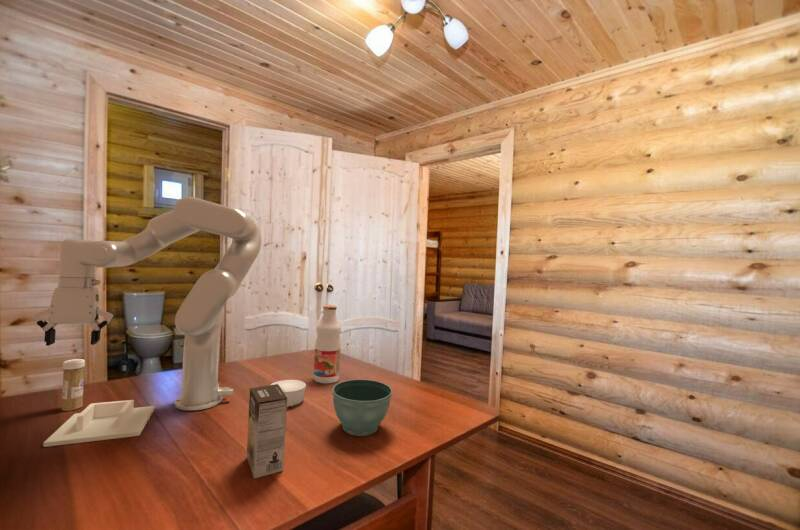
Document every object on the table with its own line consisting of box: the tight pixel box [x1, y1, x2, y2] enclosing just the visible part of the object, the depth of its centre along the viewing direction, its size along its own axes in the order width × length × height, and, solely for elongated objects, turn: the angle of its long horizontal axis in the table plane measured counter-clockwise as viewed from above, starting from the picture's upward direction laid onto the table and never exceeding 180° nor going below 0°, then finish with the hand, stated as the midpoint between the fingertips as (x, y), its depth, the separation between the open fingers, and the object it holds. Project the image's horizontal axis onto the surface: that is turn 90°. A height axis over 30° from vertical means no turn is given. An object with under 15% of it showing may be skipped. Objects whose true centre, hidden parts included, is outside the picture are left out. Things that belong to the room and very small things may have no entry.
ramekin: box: [270, 379, 307, 408], centre depth 113 cm, size 11×11×5 cm
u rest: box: [42, 399, 156, 448], centre depth 92 cm, size 18×16×4 cm
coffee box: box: [246, 384, 288, 479], centre depth 79 cm, size 9×6×16 cm
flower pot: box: [332, 379, 393, 437], centre depth 98 cm, size 16×16×11 cm
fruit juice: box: [313, 304, 342, 384], centre depth 135 cm, size 9×9×28 cm
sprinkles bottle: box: [61, 358, 86, 412], centre depth 101 cm, size 5×5×13 cm
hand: (72, 344), depth 100 cm, fingers open, 9 cm apart
